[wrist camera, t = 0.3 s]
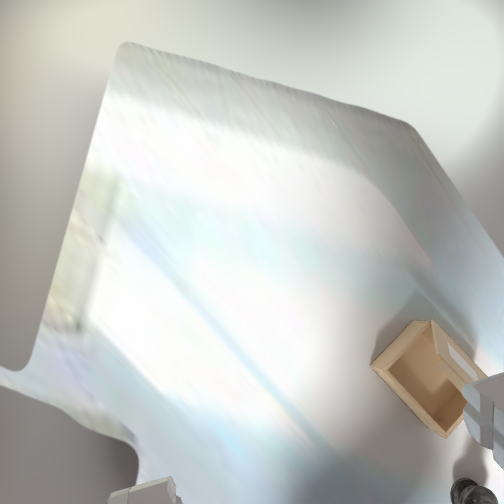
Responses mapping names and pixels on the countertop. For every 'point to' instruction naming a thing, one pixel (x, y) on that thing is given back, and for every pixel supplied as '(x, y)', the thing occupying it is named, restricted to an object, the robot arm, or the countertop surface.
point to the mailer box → (421, 378)
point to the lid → (454, 360)
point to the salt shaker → (471, 493)
